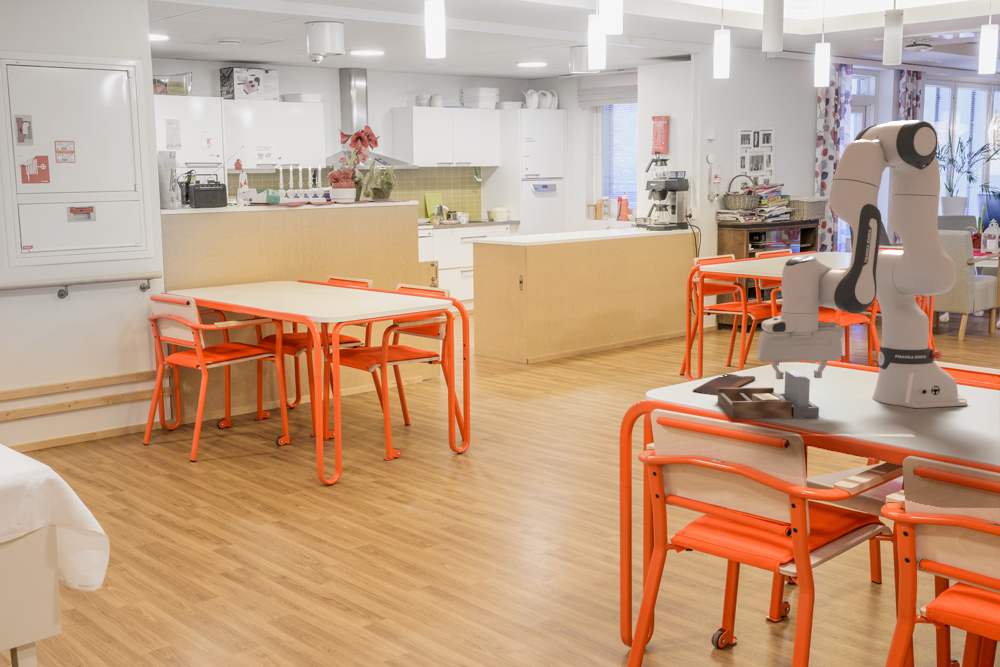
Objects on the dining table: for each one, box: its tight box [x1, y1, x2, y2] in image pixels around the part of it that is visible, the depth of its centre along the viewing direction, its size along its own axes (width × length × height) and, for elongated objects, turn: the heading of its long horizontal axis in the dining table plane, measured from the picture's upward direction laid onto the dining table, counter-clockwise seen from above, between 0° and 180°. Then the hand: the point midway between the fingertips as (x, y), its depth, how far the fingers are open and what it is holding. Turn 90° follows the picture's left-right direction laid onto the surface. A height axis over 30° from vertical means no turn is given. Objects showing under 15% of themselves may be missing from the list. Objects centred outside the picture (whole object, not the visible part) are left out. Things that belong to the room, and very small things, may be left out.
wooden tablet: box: [692, 373, 756, 396], centre depth 263 cm, size 26×2×10 cm
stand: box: [775, 392, 820, 419], centre depth 233 cm, size 6×17×2 cm, turn 179°
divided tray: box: [717, 387, 792, 419], centre depth 234 cm, size 14×17×4 cm
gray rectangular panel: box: [784, 369, 811, 407], centre depth 233 cm, size 2×12×9 cm, turn 179°
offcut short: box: [752, 393, 780, 401], centre depth 234 cm, size 4×7×2 cm, turn 7°
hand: (798, 378), depth 233 cm, fingers open, 8 cm apart
